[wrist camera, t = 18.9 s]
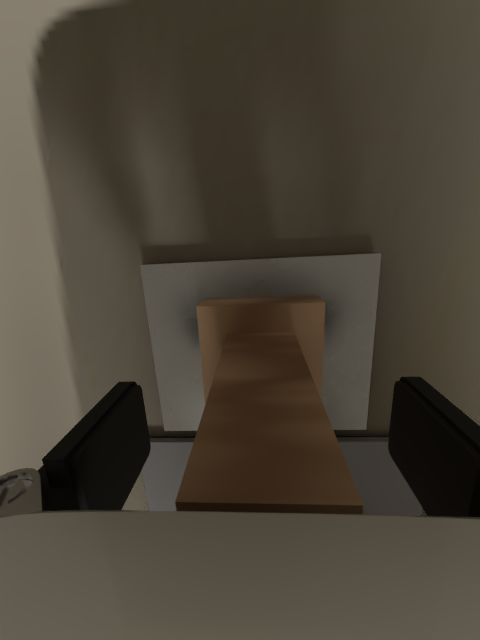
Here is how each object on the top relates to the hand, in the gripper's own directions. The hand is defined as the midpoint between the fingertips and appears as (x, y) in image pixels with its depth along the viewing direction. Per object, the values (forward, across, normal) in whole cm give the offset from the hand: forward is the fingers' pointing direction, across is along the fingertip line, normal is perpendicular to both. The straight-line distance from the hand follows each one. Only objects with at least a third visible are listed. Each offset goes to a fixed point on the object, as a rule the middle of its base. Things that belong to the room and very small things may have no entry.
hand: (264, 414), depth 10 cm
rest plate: (+6, 0, 0) cm, 6 cm away
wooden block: (+5, 0, 0) cm, 5 cm away
